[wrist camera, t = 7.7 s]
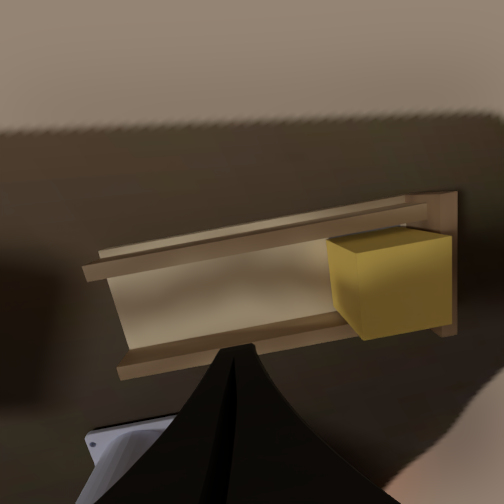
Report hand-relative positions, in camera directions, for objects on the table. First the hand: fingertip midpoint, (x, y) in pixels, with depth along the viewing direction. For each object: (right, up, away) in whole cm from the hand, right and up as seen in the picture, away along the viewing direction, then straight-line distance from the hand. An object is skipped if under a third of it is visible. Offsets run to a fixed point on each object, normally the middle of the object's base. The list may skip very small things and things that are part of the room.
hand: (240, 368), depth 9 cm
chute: (+2, +2, +9) cm, 10 cm away
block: (+8, +3, +8) cm, 12 cm away
